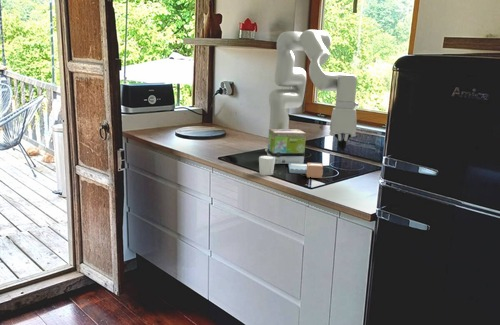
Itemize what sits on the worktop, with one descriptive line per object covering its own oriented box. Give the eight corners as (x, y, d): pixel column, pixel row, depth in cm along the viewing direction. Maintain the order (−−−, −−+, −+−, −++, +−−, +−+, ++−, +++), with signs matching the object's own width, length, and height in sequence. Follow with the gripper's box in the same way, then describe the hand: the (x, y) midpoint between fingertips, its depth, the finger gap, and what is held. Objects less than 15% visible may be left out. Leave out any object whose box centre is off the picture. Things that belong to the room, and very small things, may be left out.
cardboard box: (306, 174, 195) (307, 162, 193) (320, 174, 194) (321, 163, 193) (307, 177, 190) (308, 165, 188) (321, 178, 190) (322, 166, 188)
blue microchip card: (288, 166, 206) (288, 162, 205) (319, 167, 206) (319, 164, 205) (289, 172, 195) (289, 169, 195) (322, 174, 195) (323, 170, 195)
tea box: (273, 164, 207) (275, 132, 204) (266, 159, 217) (268, 128, 213) (304, 164, 211) (306, 132, 208) (296, 158, 221) (298, 128, 217)
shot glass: (264, 176, 188) (265, 159, 186) (254, 172, 194) (255, 156, 192) (277, 174, 192) (278, 158, 190) (267, 170, 198) (268, 154, 196)
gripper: (361, 105, 188) (357, 148, 192) (325, 103, 188) (322, 147, 192) (365, 107, 181) (361, 152, 185) (327, 105, 181) (324, 151, 185)
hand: (341, 149), depth 189 cm, fingers closed
